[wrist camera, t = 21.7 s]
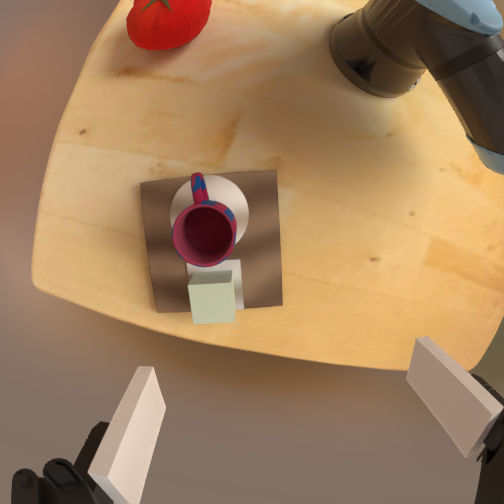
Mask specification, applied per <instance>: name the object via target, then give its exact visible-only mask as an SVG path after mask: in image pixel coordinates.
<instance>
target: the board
mask: <svg viewBox="0 0 504 504" xmlns="http://www.w3.org/2000/svg"><path fill="white" fill-rule="evenodd" d="M203 177H204V180H205V183H206V187H207V192H208V196H209V200H211V201H217V202H220V203H222V204H224V205H226V206H227V207H228V208H229V209H230V210H231V211H232V213H233V214H234V216H235V218H236V222H237V233H236V242H235V246H234V248H233V250H232V252H231V254H230V255H229V256H228V257H227V258H226V259H225V260H224V261H223V262H221V263H220V264H218V265H215V266H212V267H197V266H194V265H191V264H189V263H187V262H186V261H185V260H183V259H182V258H181V257H180V256H179V254H178V253H177V251H176V249H175V247H174V245H173V241H172V229H173V225H174V222H175V220H176V218H177V217H178V215H179V214H180V213H181V212H182V211H183V210H184V209H186V208H187V207H189V206H191V205H193V204H194V201H193V196H192V190H191V177H183V178H174V179H166V180H158V181H151V182H144V183H140V186H141V199H142V210H143V220H144V229H145V237H146V245H147V252H148V260H149V266H150V273H151V279H152V285H153V291H154V297H155V302H156V307H157V312H158V313H164V312H192V311H191V304H190V297H189V290H188V284H189V282H190V280H191V278H192V276H193V274H194V273H196V272H212V271H227V270H233V282H234V294H235V305H236V307H235V310H243V309H245V308H258V307H271V306H282V305H283V300H282V271H281V246H280V225H279V206H278V189H277V173H276V170H272V171H253V172H238V173H225V174H213V175H203Z"/></svg>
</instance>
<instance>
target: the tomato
mask: <svg viewBox="0 0 504 504" xmlns="http://www.w3.org/2000/svg"><path fill="white" fill-rule="evenodd" d="M211 4H212V1H211V0H134V6H133V8H132V9H131V11H130V12H129V14H128V16H127V19H126V20H127V30H128V35H129V37H130V39H131V40H132V41H133V42H134V44H135V45H136V46H138V47H140V48H143V49H147V50H167V49H171V48H175V47H179V46H182V45H184V44H186V43H188V42H190V41H191V40H192V39H194V38H195V37H196V36H197V35H198V34H199V33H200V32H201V30H202V29H203V27H204V26H205V25H206V23H207V20H208V17H209V14H210V7H211Z"/></svg>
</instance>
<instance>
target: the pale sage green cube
mask: <svg viewBox="0 0 504 504" xmlns="http://www.w3.org/2000/svg"><path fill="white" fill-rule="evenodd" d="M188 290H189V297H190V304H191V311H192V318H193V324H209V323H229V322H235V307H236V305H235V294H234V282H233V270H227V271H212V272H196V273H194V274H193V276H192V278H191V280H190V282H189V284H188Z"/></svg>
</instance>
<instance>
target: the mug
mask: <svg viewBox="0 0 504 504" xmlns="http://www.w3.org/2000/svg"><path fill="white" fill-rule="evenodd" d="M191 190H192V196H193V201H194V204H193V205H191V206H189V207H187V208H186V209H184V210H183V211H182V212H181V213H180V214H179V215H178V217H177V218H176V220H175V222H174V225H173V229H172V241H173V245H174V247H175V249H176V251H177V253H178V254H179V256H180V257H181V258H182V259H183V260H185V261H186V262H187V263H189V264H191V265H194V266H197V267H212V266H215V265H218V264H220V263H221V262H223V261H224V260H225V259H226V258H227V257H228V256H229V255H230V254H231V252H232V250H233V248H234V246H235V242H236V233H237V222H236V218H235V216H234V214H233V213H232V211H231V210H230V209H229V208H228V207H227V206H226V205H224V204H222V203H220V202H217V201H211V200H209V196H208V192H207V187H206V183H205V180H204V177H203V175H202V174H201V173H200V172H199V173H194V174H192V176H191Z"/></svg>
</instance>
